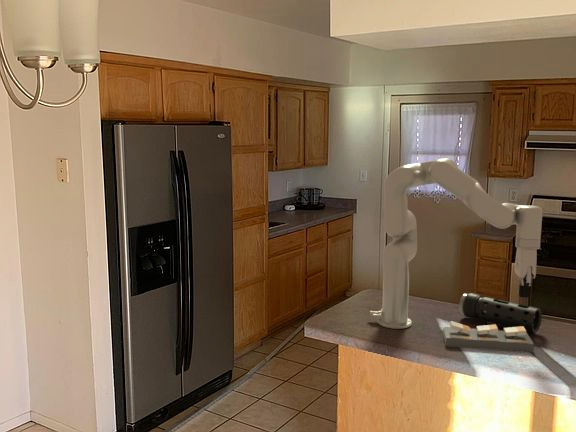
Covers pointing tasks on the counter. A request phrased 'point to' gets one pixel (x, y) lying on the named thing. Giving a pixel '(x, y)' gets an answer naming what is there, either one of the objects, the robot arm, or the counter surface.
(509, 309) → the muzzle brake
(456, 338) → the switch unit
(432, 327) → the counter surface
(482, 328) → the switch middle
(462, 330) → the switch left
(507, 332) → the switch right
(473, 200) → the robot arm
